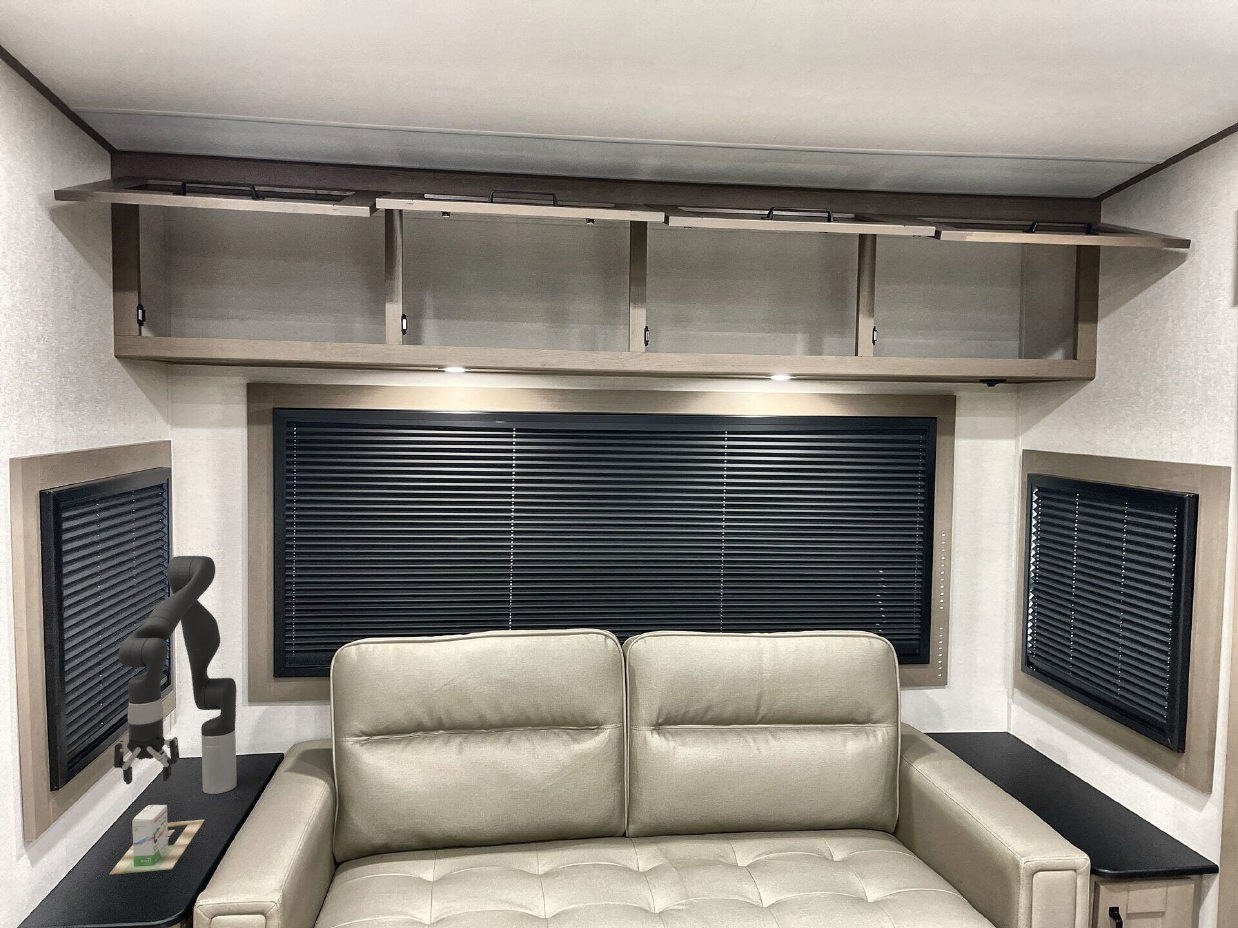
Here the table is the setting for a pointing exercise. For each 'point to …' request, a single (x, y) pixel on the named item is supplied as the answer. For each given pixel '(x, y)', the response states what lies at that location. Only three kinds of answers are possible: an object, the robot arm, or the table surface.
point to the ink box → (150, 835)
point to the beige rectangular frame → (168, 857)
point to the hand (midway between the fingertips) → (147, 781)
